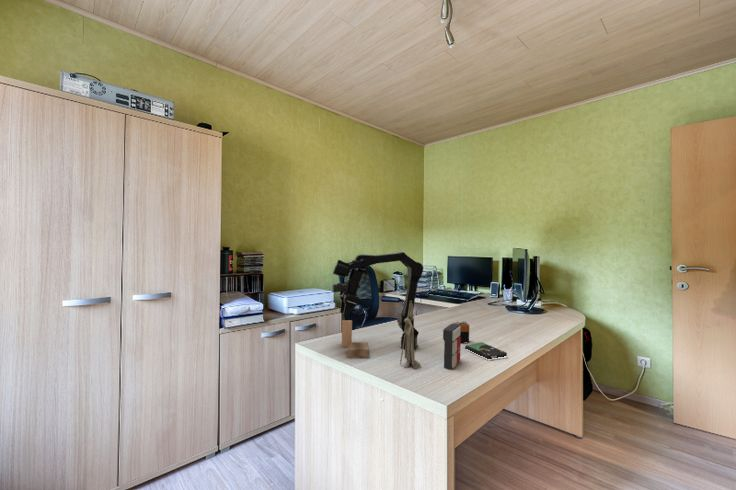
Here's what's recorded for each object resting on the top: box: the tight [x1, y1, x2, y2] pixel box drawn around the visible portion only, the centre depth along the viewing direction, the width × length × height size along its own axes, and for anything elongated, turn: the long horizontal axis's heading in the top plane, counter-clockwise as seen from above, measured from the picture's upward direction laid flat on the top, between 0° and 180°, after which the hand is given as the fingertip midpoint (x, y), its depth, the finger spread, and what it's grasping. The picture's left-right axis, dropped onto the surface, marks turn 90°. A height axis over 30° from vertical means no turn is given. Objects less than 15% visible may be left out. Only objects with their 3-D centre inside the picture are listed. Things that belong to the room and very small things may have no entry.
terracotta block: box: [341, 319, 353, 348], centre depth 142 cm, size 4×4×11 cm
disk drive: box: [464, 342, 508, 359], centre depth 136 cm, size 10×3×15 cm
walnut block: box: [346, 341, 370, 359], centre depth 131 cm, size 9×9×4 cm
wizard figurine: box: [399, 301, 422, 370], centre depth 121 cm, size 10×8×25 cm
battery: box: [452, 320, 470, 344], centre depth 151 cm, size 4×7×10 cm, turn 100°
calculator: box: [442, 323, 462, 370], centre depth 122 cm, size 11×4×15 cm, turn 148°
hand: (342, 314), depth 135 cm, fingers open, 9 cm apart
